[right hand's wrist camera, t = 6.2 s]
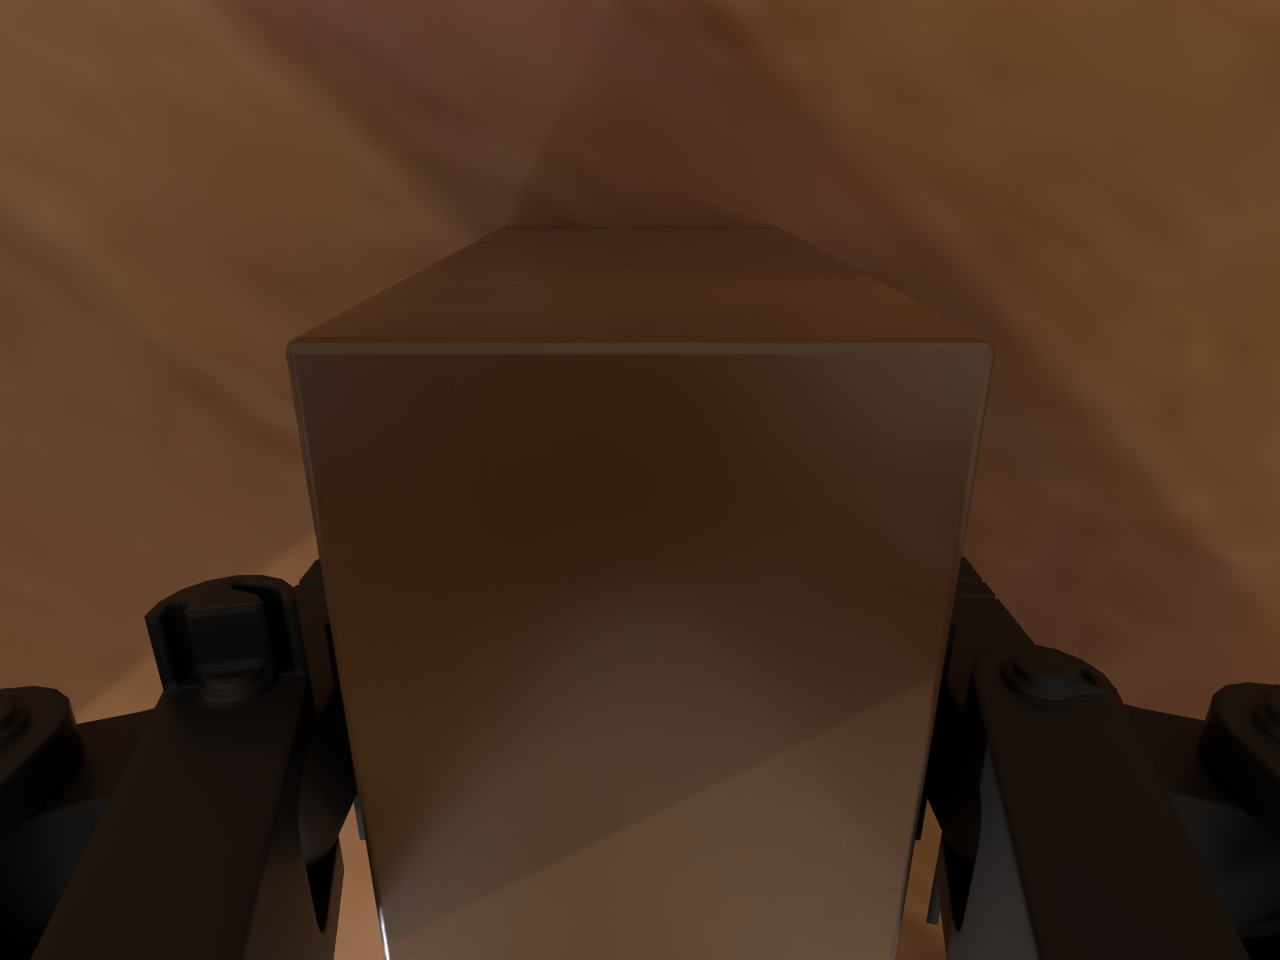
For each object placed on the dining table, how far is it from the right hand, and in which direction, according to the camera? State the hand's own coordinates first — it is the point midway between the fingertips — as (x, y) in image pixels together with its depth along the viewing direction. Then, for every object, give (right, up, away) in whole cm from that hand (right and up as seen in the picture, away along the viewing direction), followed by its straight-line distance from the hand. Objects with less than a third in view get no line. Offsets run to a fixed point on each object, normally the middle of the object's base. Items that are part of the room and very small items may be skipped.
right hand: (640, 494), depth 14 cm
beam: (0, -21, +9) cm, 23 cm away
